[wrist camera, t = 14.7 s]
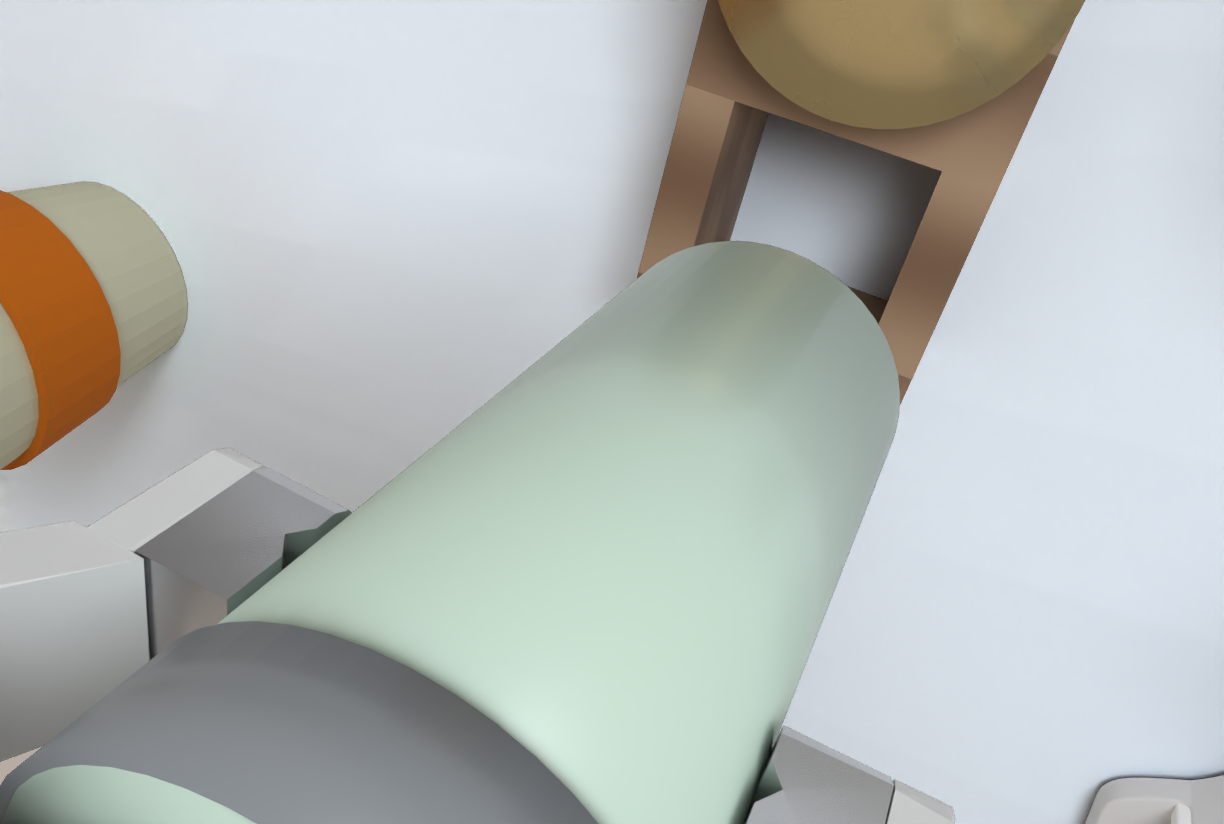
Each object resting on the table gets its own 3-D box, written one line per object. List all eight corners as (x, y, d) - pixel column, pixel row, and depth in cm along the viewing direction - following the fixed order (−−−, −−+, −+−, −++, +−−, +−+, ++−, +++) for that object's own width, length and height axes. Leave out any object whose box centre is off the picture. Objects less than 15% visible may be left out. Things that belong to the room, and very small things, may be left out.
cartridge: (841, 573, 15) (526, 1383, 7) (573, 453, 16) (30, 1024, 8) (963, 306, 12) (695, 1073, 4) (636, 187, 14) (-60, 619, 5)
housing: (923, 344, 34) (899, 407, 30) (683, 252, 36) (631, 299, 32) (1154, -172, 25) (1165, -182, 21) (824, -254, 27) (777, -276, 23)
